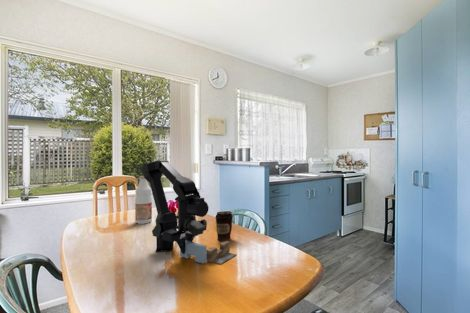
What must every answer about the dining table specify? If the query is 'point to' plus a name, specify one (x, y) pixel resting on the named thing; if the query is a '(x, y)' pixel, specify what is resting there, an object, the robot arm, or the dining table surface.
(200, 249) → the pale blue slat
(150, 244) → the dining table surface
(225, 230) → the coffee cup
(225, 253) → the slotted base
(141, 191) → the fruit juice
